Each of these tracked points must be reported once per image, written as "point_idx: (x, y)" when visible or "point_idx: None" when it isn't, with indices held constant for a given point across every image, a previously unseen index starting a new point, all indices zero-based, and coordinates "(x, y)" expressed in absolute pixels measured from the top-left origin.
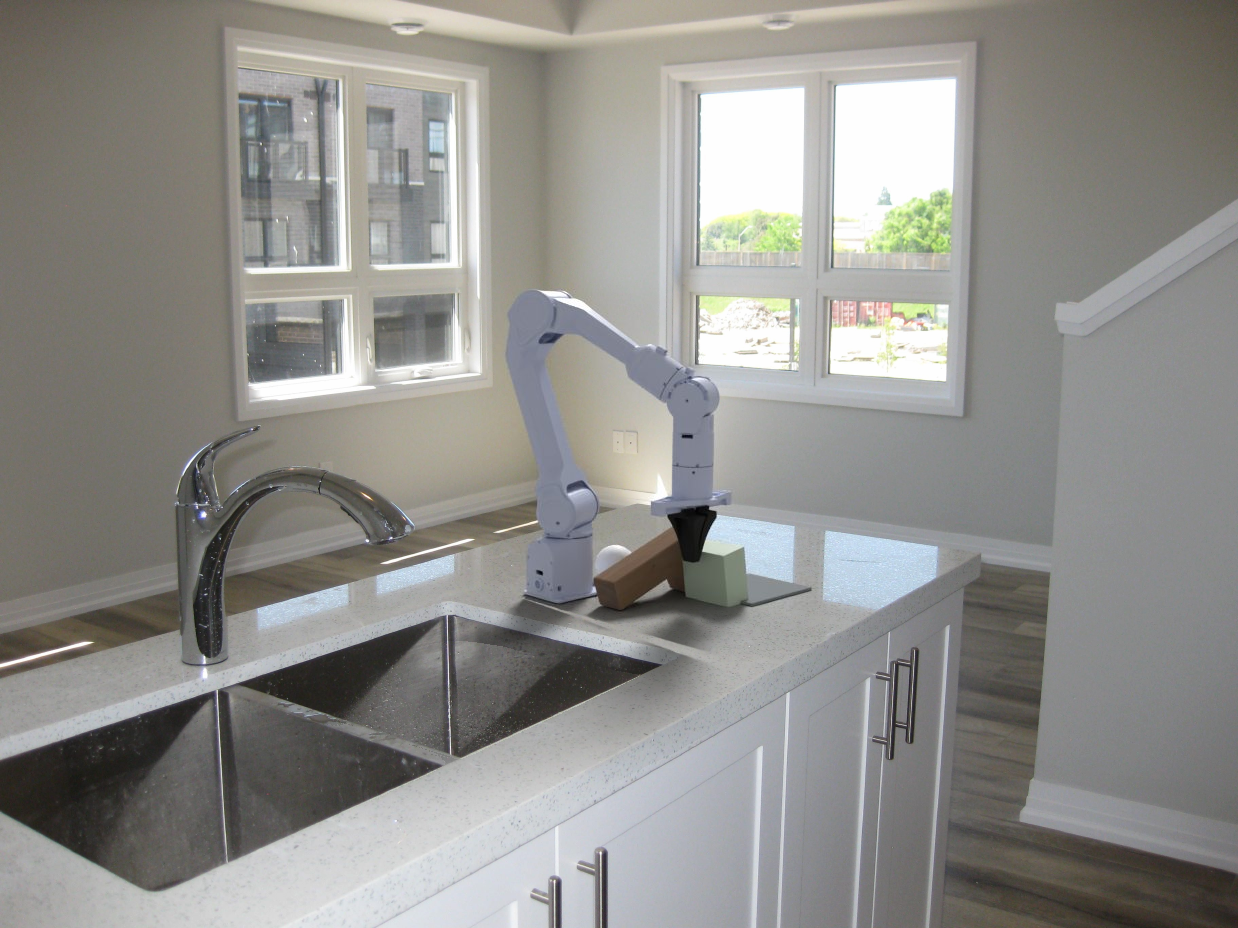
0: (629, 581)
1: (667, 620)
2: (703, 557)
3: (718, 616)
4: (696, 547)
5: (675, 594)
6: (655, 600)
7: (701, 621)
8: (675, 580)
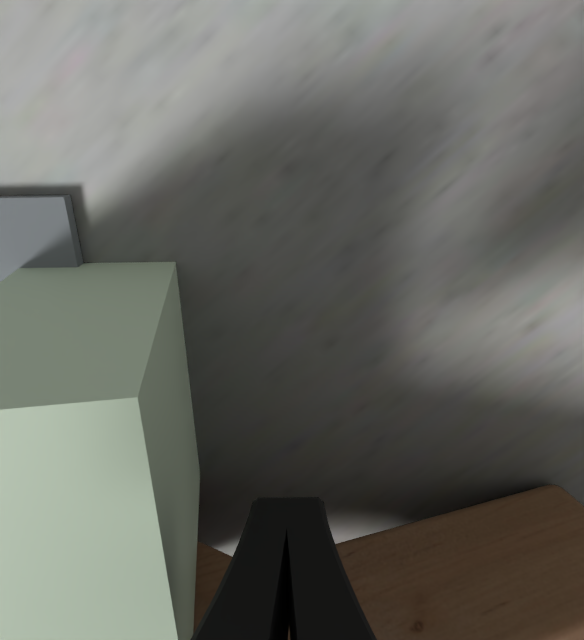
0: (573, 575)
1: (547, 289)
2: (172, 535)
3: (332, 179)
4: (324, 582)
5: (209, 513)
6: (332, 503)
7: (461, 173)
8: None
